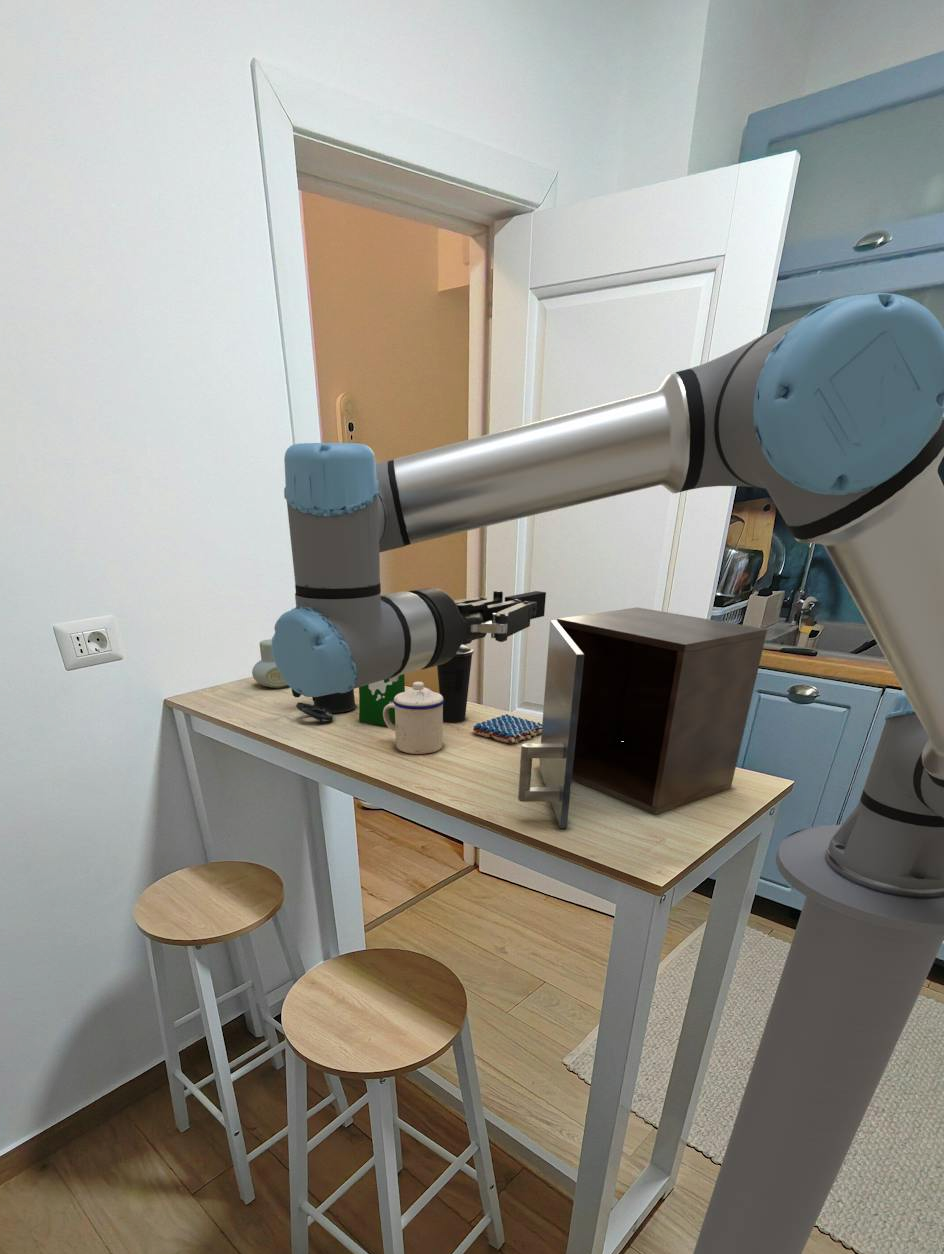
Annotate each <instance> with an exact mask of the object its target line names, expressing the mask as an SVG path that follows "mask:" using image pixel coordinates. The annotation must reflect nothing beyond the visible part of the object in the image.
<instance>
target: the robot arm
mask: <svg viewBox="0 0 944 1254" xmlns="http://www.w3.org/2000/svg"><path fill="white" fill-rule="evenodd" d="M375 455H376V454H375V452H374V451H373V449H372V448H371V447H370V446H369V445H367V444H365V443H354V442H352V443H351V442H301V443H300V442H299V443H294V444H291V445H290V446H289V447H288V448H286V450H285V453H284V458H283V459H284V461H283V462H284V479H285V480H284V481H285V484H284V485H285V487H284V488H283V489H284V490H283V495H284V499H285V500H286V507H287V517H288V527H289V536H290V537H289V538H290V545H291V546H290V547H291V555H292V556H291V557H292V565H293V567H292V568H293V576H294V588H295V593H294V599H295V600H294V601H295V607H294V608H291V609H290V610H288V611H285V612H284V613H282V614H281V615H280V616H279V617H278V619H277V620H276V621H275V624H274V634H273V636H272V637H271V639H272V652H273V657H274V661H275V664H276V666H277V669H278V671H279V673H280V675H281V676H282V678H283V679H284V681H285V682H286V683H287V685H288V686H287V687H289V688H290V689H291V688H292V689H293V690H294V691H295V692H297V693H299V694H301V696H303V697H305V698H312V697H319V696H324V695H329V694H334V693H346V692H349V691H351V690H352V689H354V690H355V689H359V687H362V686H365V685H368V684H372V683H375V682H378V681H381V680H385V679H389V680H390V681H393V682H396V681H398V678H399V675H402V674H404V675H405V674H410V673H414V672H417V671H420V670H426V669H427V670H428V669H429V668H433V667H434V668H435V667H437V666H438V665H441V664H444V663H446V662H448V661H450V660H451V659H452V658H453V657H454V656H455V654H456V653H457V651H458V650H459V648H460V646H461V645H469V644H471V643H472V641H476V640H479V639H484V638H485V637H486V636H487V634H490V636H491V637H490V638H491V639H495V641H496V642H499V643H504V642H506V641H508V637H510V636H513V635H514V634H517V633H519V632H521V631H524V630H525V629H527V628H529V627H530V626H531V620H534V619H538V618H543V617H545V610H546V597H547V592H546V591H538V590H534V591H528V592H524V593H519V594H514V595H509V596H504V591H503V590H502V591H501V590H494V591H493V593H492V596H493V598H487V597H485V596H479V597H471V598H463V599H455V600H454V599H453V598H452V596H450V594H448V592H447V593H446V591H444V590H442V589H439V588H437V587H424V588H418V589H412V590H408V591H407V590H406V591H404V590H402V591H396V592H391V593H385V594H381V592H382V588H381V587H382V585H381V562H380V555H381V554H380V553H383V552H388V551H392V550H396V549H401V548H405V547H406V546H409V545H415V544H418V543H424V542H427V541H431V540H436V539H439V538H443V537H448V536H451V535H456V534H461V533H465V532H469V531H472V530H473V531H474V530H478V529H481V528H486V527H489V526H490V527H491V526H494V525H498V524H502V523H506V522H512V521H515V520H519V519H524V518H527V517H532V516H537V515H540V514H545V513H549V512H553V511H558V510H561V509H565V508H570V507H574V506H579V505H582V504H583V505H584V504H587V503H591V502H595V501H599V500H604V499H608V498H611V497H616V496H621V495H624V494H628V493H633V492H638V491H642V490H646V489H649V488H654V487H659V486H662V487H664V488H665V489H666V490H668V491H669V492H670V493H672V494H678V493H682V492H687V491H691V490H697V489H702V488H713V487H714V488H715V487H748V488H749V487H750V488H758V489H765V490H766V491H767V493H768V494H769V496H770V498H771V499H772V502H773V503H774V505H775V507H776V508H777V510H778V512H779V514H780V515H781V518H782V519H783V520H784V522H785V525H786V526H787V528H788V530H789V531H790V533H791V535H792V537H793V538H794V540H795V541H796V542H798V543H804V544H814V545H822V546H823V548H824V550H825V551H826V553H827V555H828V557H829V558H830V560H831V562H832V565H834V568H835V569H836V571H837V573H838V575H839V577H840V579H841V580H842V582H843V584H844V586H845V587H846V589H847V591H848V593H849V595H850V596H851V598H852V600H853V602H854V604H855V606H856V607H857V610H858V611H859V613H860V615H861V616H862V618H863V620H864V623H865V624H866V626H867V628H868V629H869V631H870V633H871V635H872V637H873V639H874V641H875V642H876V644H877V646H878V647H879V649H880V651H881V653H882V655H883V656H884V658H885V660H886V662H887V664H888V667H890V670H891V671H892V673H893V675H894V676H895V678H896V680H897V682H898V684H899V685H900V688H901V690H900V691H899V692H898V693H896V695H895V697H894V699H893V701H892V704H891V705H890V708H889V709H888V712H887V714H886V716H885V717H884V721H885V722H884V726H883V729H882V731H881V735H880V737H879V740H878V744H877V747H876V750H875V753H874V756H873V759H872V762H871V766H870V768H869V770H868V774H867V777H866V780H865V783H864V786H863V789H862V791H861V796H860V799H859V801H858V803H857V805H856V806H855V808H854V809H853V810H852V811H851V813H850V814H849V815H848V817H847V818H846V819H845V820H844V822H843V823H842V824H841V825H842V826H841V827H840V828H839V830H838V831H837V832H836V833H835V835H834V836H833V837H832V839H831V841H830V843H829V845H828V848H827V851H826V854H825V860H826V862H827V864H828V865H829V867H830V868H831V869H832V870H833V871H835V872H836V873H837V874H839V875H840V876H842V877H843V878H845V879H847V880H849V881H851V882H853V883H855V884H857V885H860V886H862V887H865V888H868V889H871V890H874V891H877V892H881V893H885V894H889V895H894V896H899V897H906V898H918V899H932V898H941V897H944V484H943V481H942V479H941V477H940V474H939V466H940V464H941V462H942V460H943V458H944V328H943V326H942V324H941V323H940V321H939V320H938V319H937V317H936V316H935V315H934V314H933V313H932V312H931V310H929V309H928V308H927V307H925V306H924V305H923V304H921V303H919V302H918V301H916V300H915V299H913V298H910V297H908V296H905V295H901V294H896V293H888V292H875V293H868V294H856V295H850V296H846V297H840V298H837V299H835V300H831V301H829V302H827V303H824V304H823V305H820V306H818V307H816V308H814V309H812V310H811V311H810V312H809V313H807V314H806V315H804V316H802V317H799V318H797V319H795V320H793V321H791V322H789V323H786V324H784V325H782V326H779V327H777V328H774V329H771V330H770V331H768V332H765V333H763V334H761V335H760V336H757V337H756V338H754V339H753V340H751V341H749V342H747V343H745V344H743V345H742V346H740V347H737V348H735V349H733V350H731V351H730V352H728V353H725V354H724V355H721V356H719V357H717V358H714V359H712V360H709V361H707V362H704V363H702V364H700V365H696V366H693V367H690V368H686V369H682V370H678V371H675V372H671V373H669V374H668V375H667V376H666V377H665V378H664V380H663V382H662V383H661V385H660V386H659V387H658V389H657V390H655V391H651V392H650V391H649V392H647V393H643V394H639V395H634V396H632V397H631V396H630V397H627V398H624V399H620V400H616V401H612V402H608V403H605V404H601V405H596V406H593V407H589V408H585V409H581V410H576V411H574V412H570V413H566V414H563V415H558V416H554V417H550V418H545V419H543V420H539V421H534V422H531V423H528V424H523V425H519V426H516V427H512V428H508V429H504V430H501V431H500V430H499V431H497V432H493V433H489V434H485V435H481V436H477V437H473V438H470V439H466V440H462V441H457V442H454V443H451V444H450V443H449V444H447V445H443V446H438V447H435V448H431V449H427V450H423V451H420V452H416V453H412V454H409V455H404V456H400V457H397V458H394V459H391V460H387V461H380V462H376V456H375ZM503 596H504V597H503ZM503 598H504V600H503ZM292 689H291V690H292Z"/></svg>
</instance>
